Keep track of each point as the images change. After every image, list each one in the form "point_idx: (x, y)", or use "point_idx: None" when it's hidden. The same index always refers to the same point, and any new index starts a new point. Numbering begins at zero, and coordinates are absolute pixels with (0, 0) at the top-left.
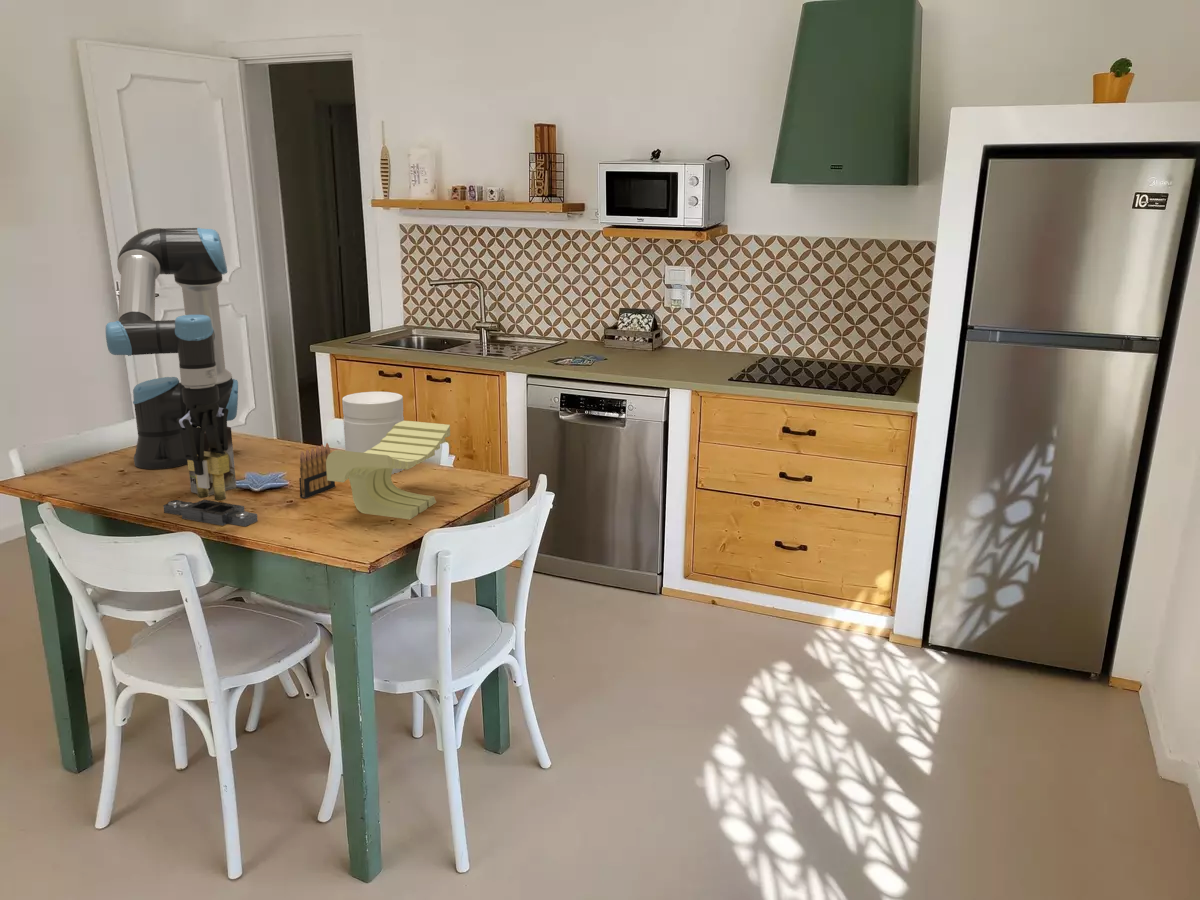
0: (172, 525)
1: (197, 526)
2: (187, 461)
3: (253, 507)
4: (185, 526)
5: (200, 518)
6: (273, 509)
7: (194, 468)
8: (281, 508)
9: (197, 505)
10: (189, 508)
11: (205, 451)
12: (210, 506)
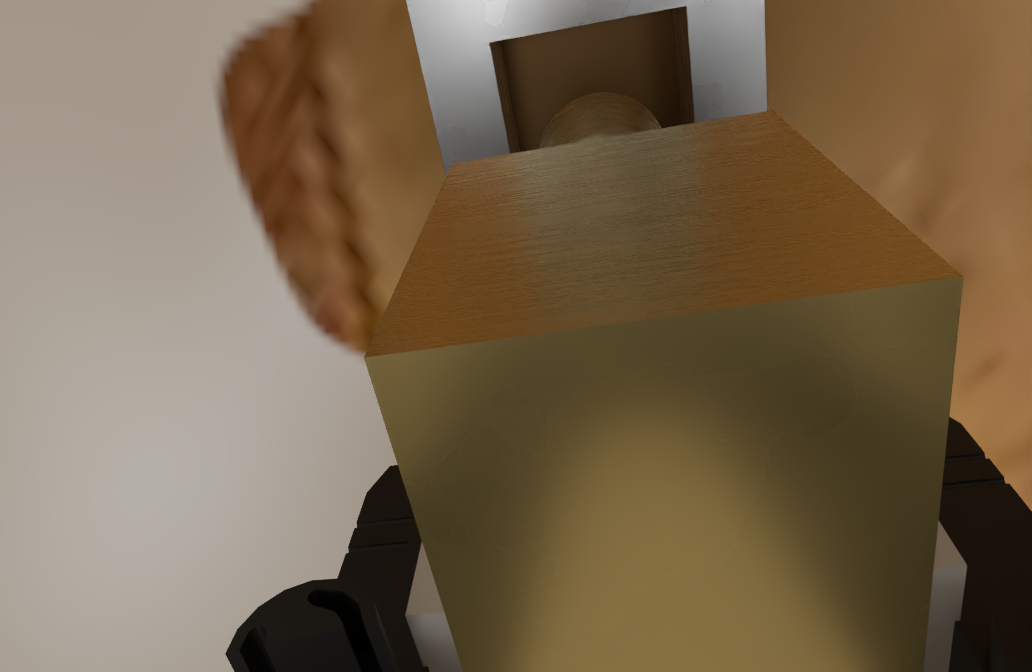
0: (266, 69)
1: (392, 267)
2: (419, 237)
3: (974, 264)
4: (329, 188)
5: None
6: (983, 426)
7: (350, 552)
8: (1026, 455)
9: (582, 24)
10: (455, 65)
11: (909, 624)
12: (687, 92)
